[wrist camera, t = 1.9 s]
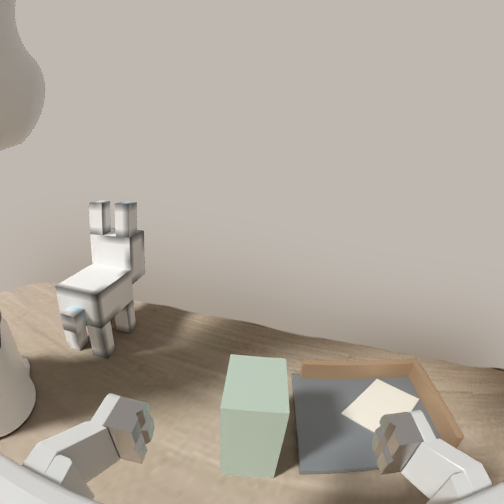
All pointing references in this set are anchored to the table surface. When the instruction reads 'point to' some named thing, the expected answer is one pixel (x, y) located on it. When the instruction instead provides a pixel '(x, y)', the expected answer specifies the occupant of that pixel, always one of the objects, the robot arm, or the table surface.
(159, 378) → the table surface
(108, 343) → the toy llama
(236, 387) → the sage block
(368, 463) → the tray
